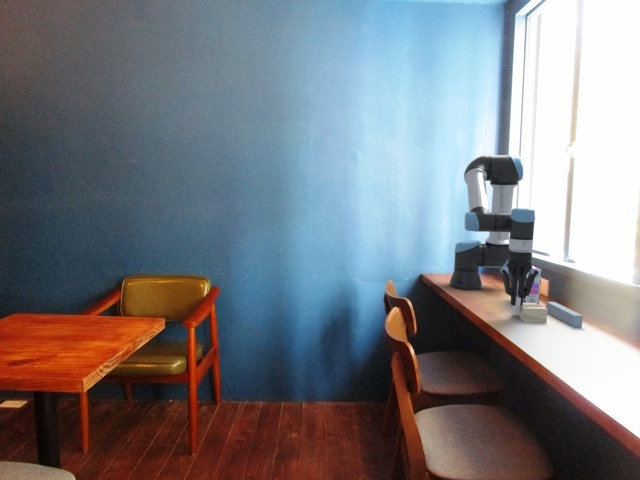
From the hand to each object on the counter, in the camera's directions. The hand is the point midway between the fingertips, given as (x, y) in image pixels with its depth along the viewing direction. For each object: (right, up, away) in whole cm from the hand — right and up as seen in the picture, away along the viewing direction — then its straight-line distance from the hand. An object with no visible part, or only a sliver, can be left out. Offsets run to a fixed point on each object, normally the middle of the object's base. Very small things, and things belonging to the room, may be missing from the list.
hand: (515, 313), depth 133 cm
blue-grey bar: (+17, -2, 0) cm, 17 cm away
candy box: (+14, 0, +18) cm, 23 cm away
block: (+5, -2, 0) cm, 5 cm away
